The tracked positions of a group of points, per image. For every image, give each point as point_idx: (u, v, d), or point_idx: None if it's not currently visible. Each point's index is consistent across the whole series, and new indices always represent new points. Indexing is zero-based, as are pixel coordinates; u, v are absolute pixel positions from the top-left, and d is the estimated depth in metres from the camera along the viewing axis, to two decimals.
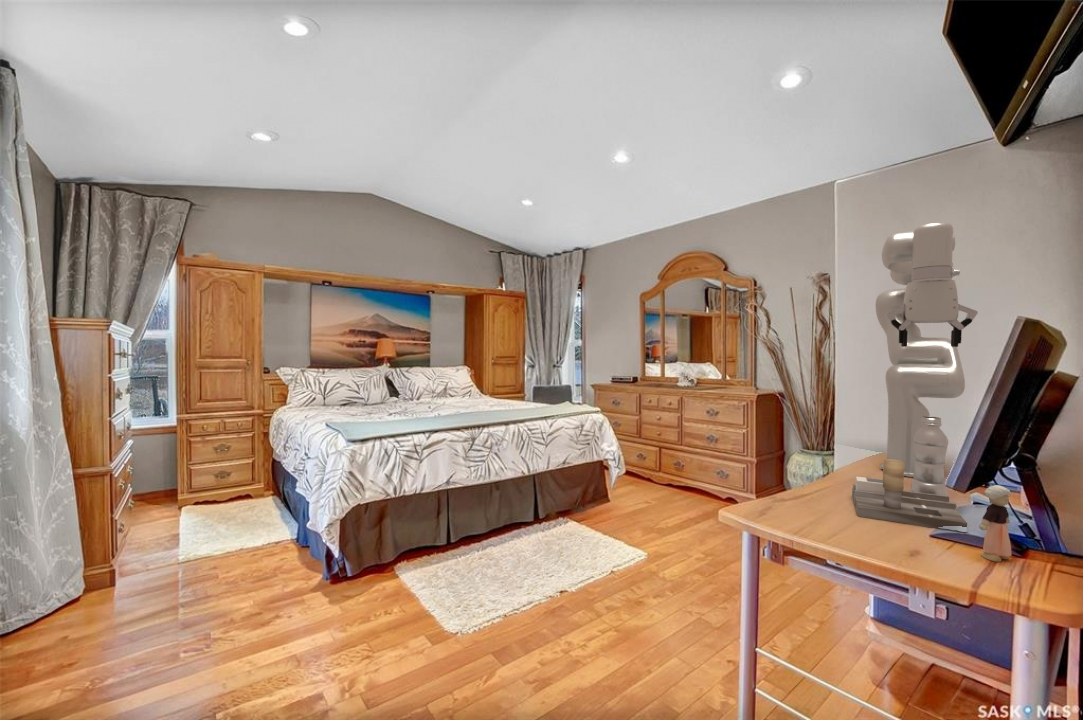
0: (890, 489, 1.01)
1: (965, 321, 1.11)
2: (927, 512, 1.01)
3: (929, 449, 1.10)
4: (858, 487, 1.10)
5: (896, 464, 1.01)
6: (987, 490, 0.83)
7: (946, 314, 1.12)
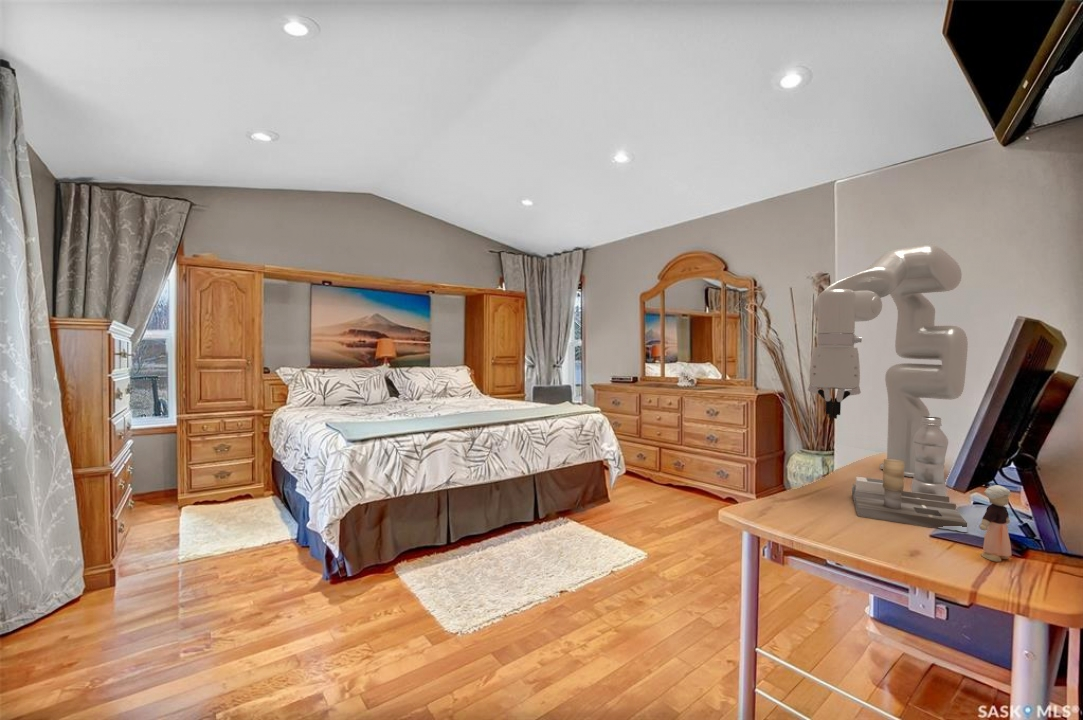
0: (890, 489, 1.01)
1: (844, 393, 1.12)
2: (927, 512, 1.01)
3: (929, 449, 1.10)
4: (858, 487, 1.10)
5: (896, 464, 1.01)
6: (987, 490, 0.83)
7: (848, 382, 1.10)
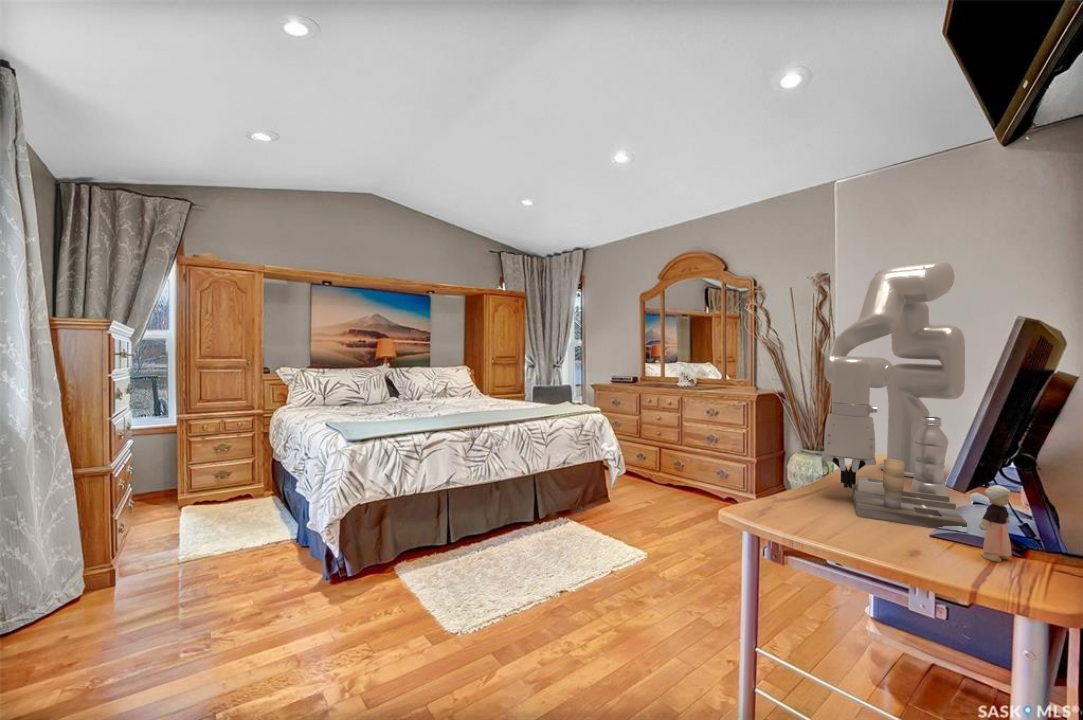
0: (890, 489, 1.01)
1: (859, 463, 1.11)
2: (927, 512, 1.01)
3: (929, 449, 1.10)
4: (859, 487, 1.10)
5: (896, 464, 1.01)
6: (987, 490, 0.83)
7: (863, 453, 1.09)
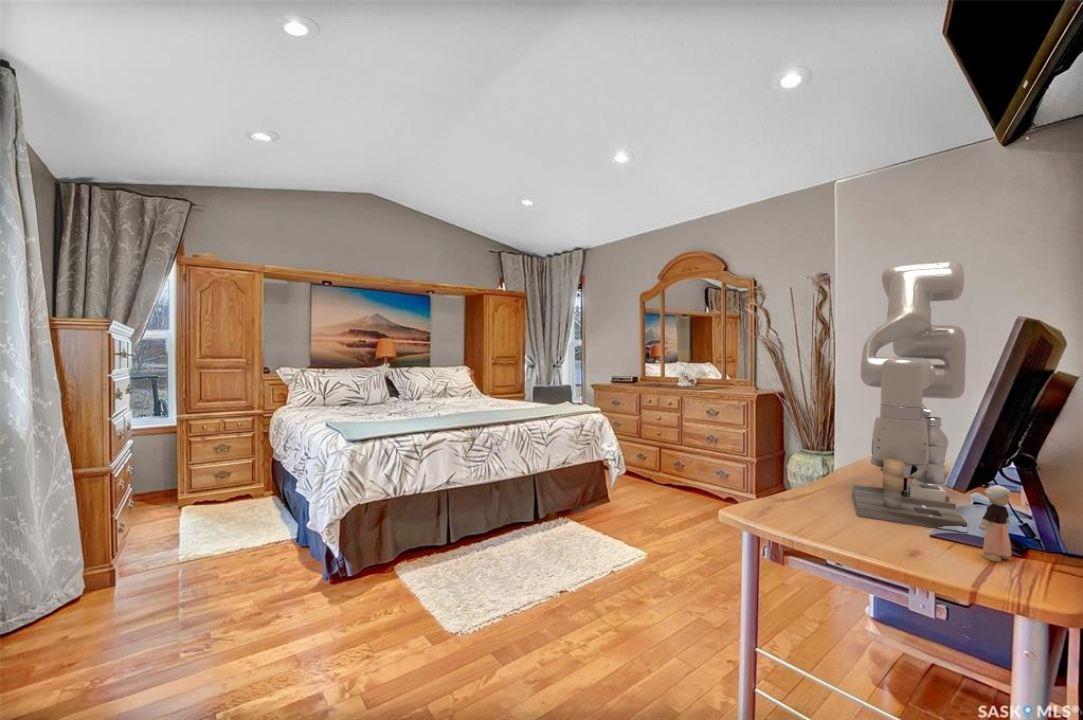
0: (890, 489, 1.01)
1: (911, 469, 1.06)
2: (927, 512, 1.01)
3: (929, 449, 1.10)
4: (911, 494, 1.05)
5: (896, 464, 1.01)
6: (987, 490, 0.83)
7: (916, 458, 1.05)
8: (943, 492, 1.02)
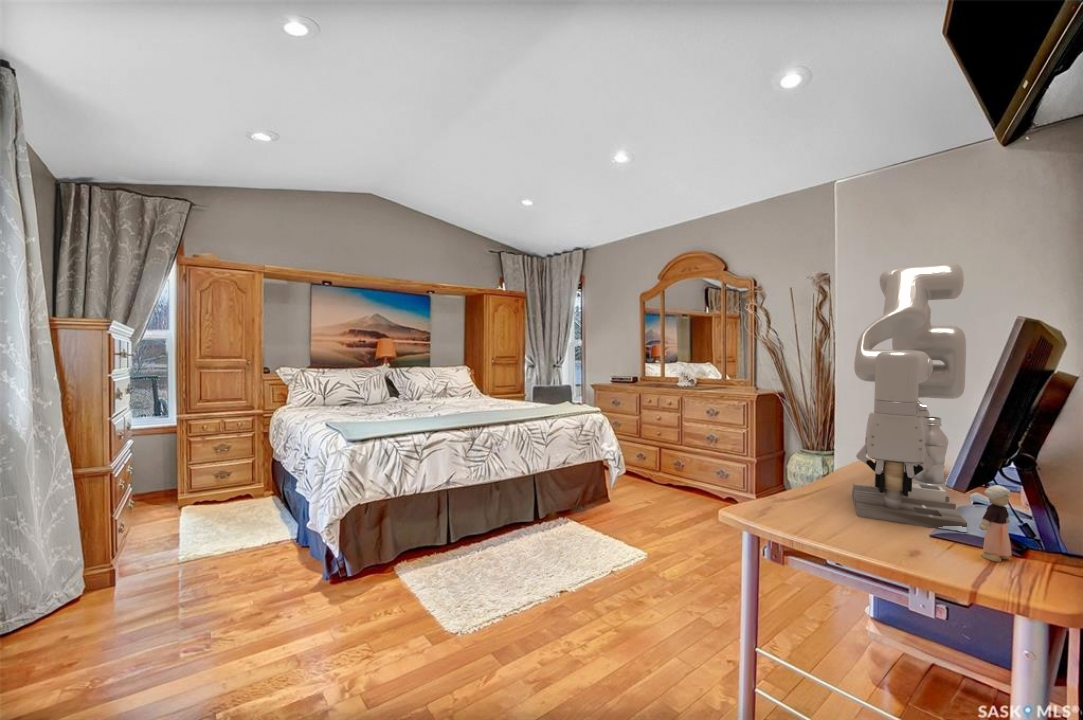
0: (890, 489, 1.01)
1: (916, 468, 1.00)
2: (927, 512, 1.01)
3: (929, 449, 1.10)
4: (912, 494, 1.05)
5: (896, 464, 1.01)
6: (987, 490, 0.83)
7: (911, 455, 0.99)
8: (943, 492, 1.02)
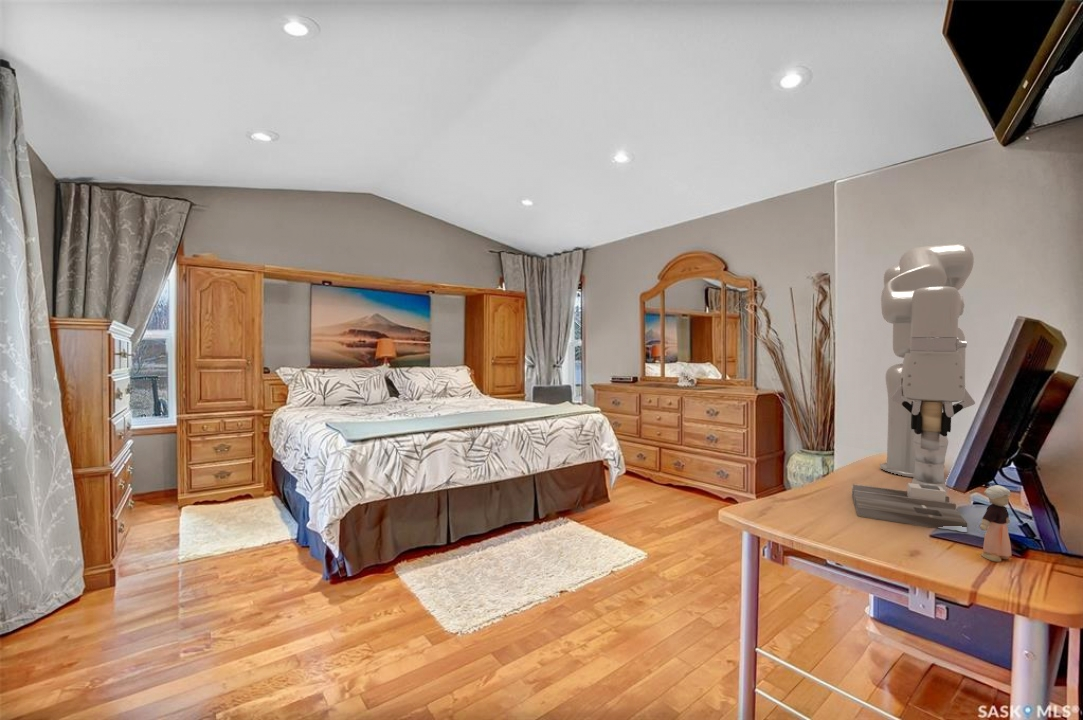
0: (928, 430, 0.98)
1: (955, 407, 0.96)
2: (927, 512, 1.01)
3: None
4: (912, 494, 1.05)
5: (934, 403, 0.97)
6: (987, 490, 0.83)
7: (951, 393, 0.95)
8: (943, 492, 1.02)
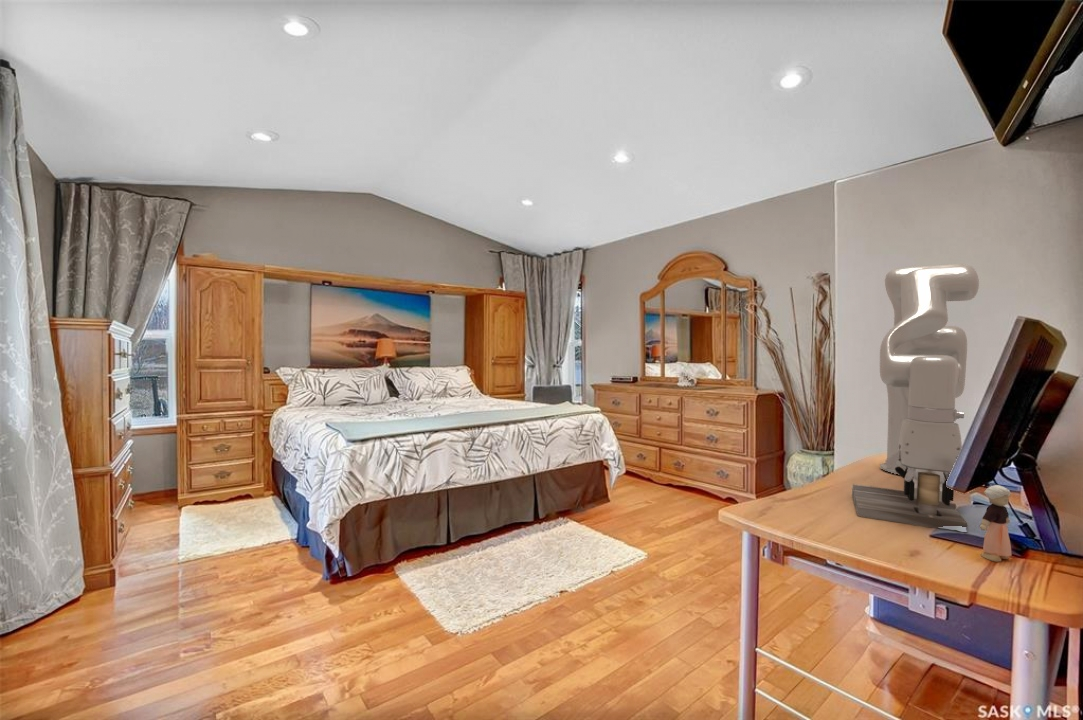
0: (925, 503, 0.98)
1: None
2: None
3: None
4: None
5: (932, 477, 0.98)
6: (987, 490, 0.83)
7: (948, 464, 0.96)
8: None
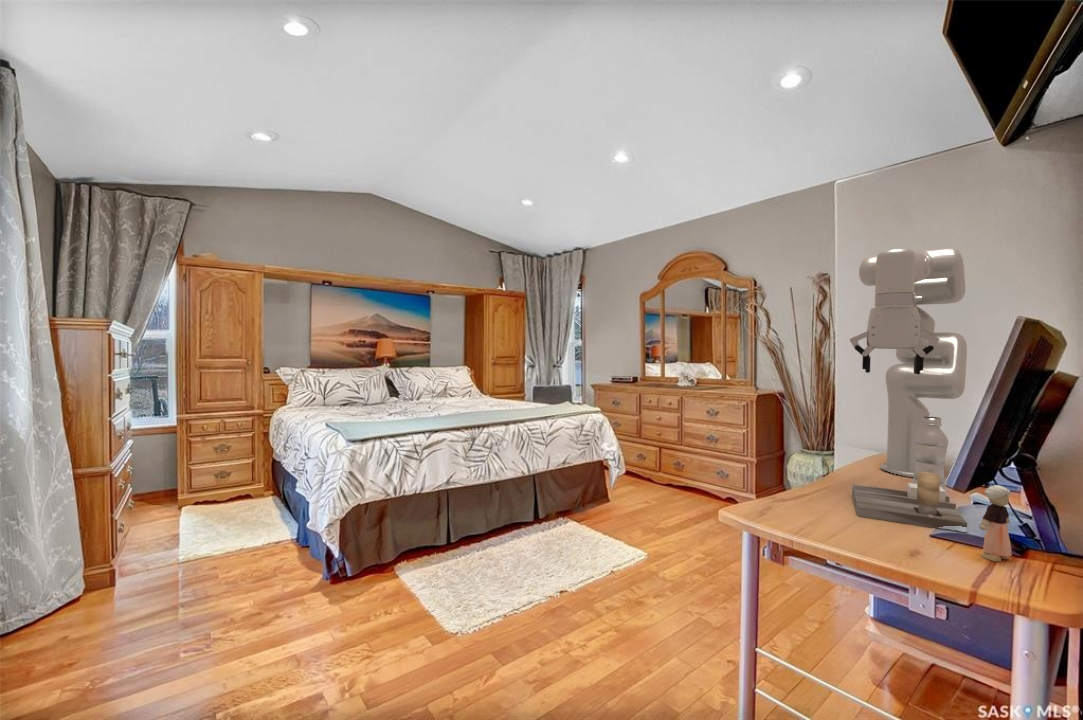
0: (925, 503, 0.99)
1: (927, 348, 1.10)
2: None
3: (929, 449, 1.10)
4: (912, 494, 1.05)
5: (932, 477, 0.98)
6: (987, 490, 0.83)
7: (908, 341, 1.11)
8: (943, 492, 1.02)
